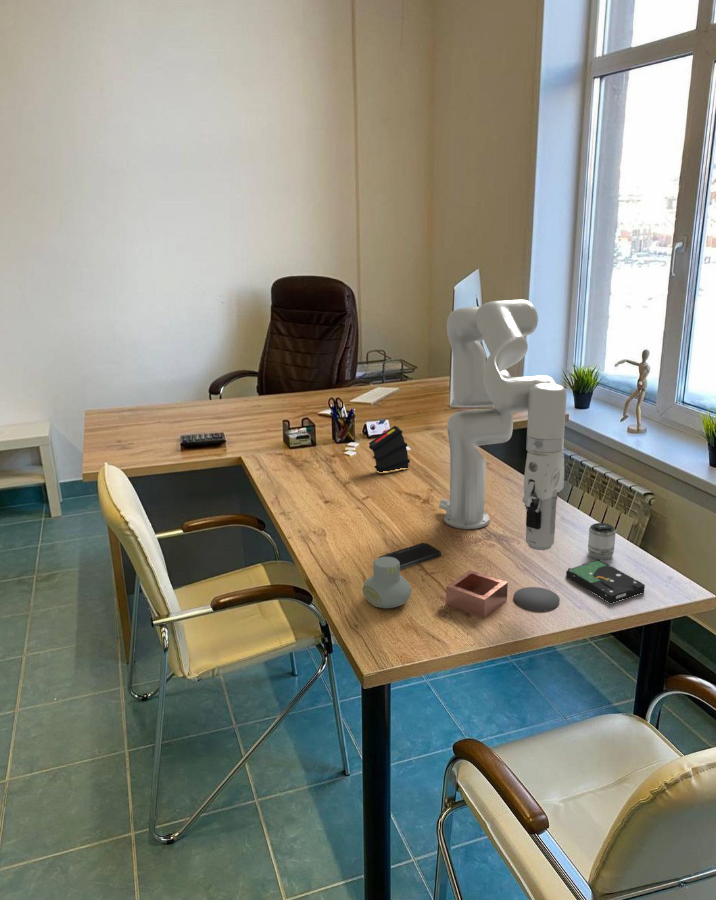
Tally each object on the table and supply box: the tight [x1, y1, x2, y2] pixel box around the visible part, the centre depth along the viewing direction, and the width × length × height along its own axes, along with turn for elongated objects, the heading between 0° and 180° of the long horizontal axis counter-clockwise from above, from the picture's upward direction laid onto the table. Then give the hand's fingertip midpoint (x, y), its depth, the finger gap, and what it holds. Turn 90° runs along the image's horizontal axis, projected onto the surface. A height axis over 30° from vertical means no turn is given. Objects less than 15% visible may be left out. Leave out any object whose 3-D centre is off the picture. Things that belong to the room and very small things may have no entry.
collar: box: [445, 569, 509, 619], centre depth 170 cm, size 10×10×4 cm
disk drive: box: [565, 559, 646, 604], centre depth 177 cm, size 10×3×15 cm
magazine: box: [368, 425, 411, 472], centre depth 252 cm, size 4×13×15 cm, turn 115°
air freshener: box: [362, 556, 412, 609], centre depth 171 cm, size 11×8×10 cm
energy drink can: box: [525, 489, 558, 551], centre depth 165 cm, size 6×6×15 cm
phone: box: [378, 542, 442, 571], centre depth 193 cm, size 8×1×15 cm
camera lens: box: [587, 522, 617, 561], centre depth 190 cm, size 6×6×8 cm
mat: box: [513, 586, 561, 612], centre depth 171 cm, size 10×10×1 cm
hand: (540, 521), depth 165 cm, fingers closed on energy drink can, 6 cm apart
